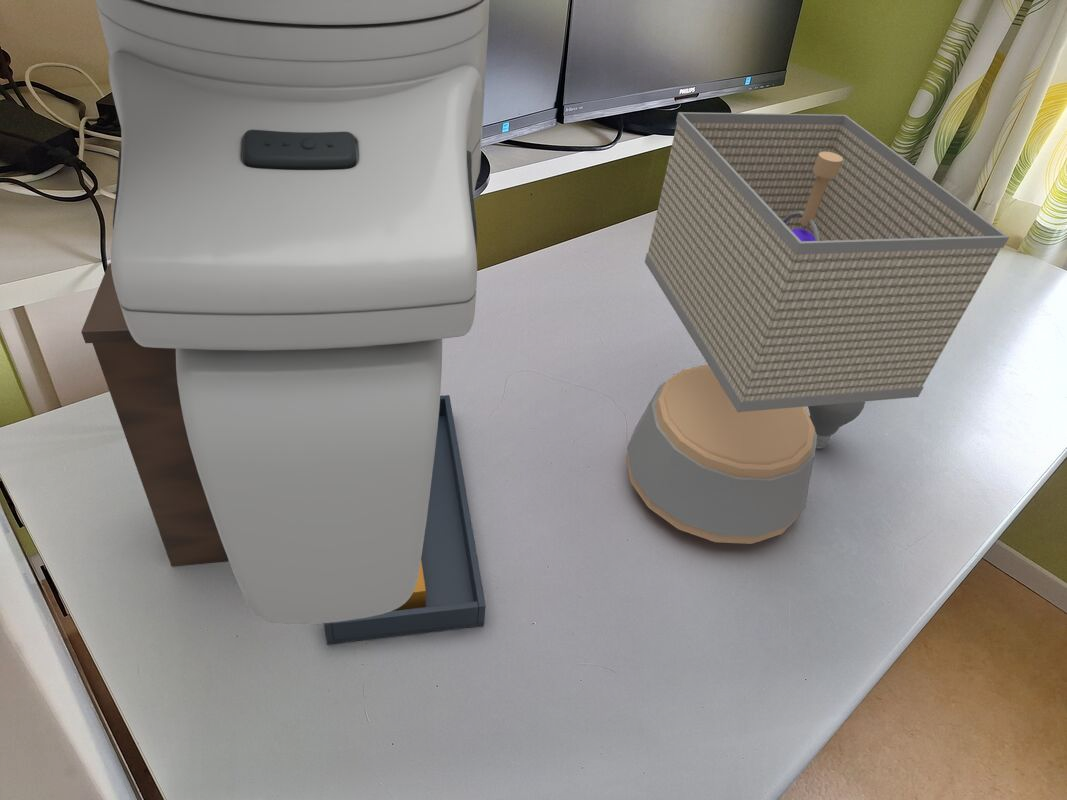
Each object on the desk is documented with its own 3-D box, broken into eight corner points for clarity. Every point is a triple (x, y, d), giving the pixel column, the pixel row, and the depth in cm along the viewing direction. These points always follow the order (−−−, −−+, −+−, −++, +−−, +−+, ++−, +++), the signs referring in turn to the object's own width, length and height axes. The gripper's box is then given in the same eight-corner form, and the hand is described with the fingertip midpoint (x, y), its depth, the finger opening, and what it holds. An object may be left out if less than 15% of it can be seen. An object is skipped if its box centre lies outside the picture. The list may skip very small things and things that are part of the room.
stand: (167, 569, 67) (80, 331, 50) (181, 496, 73) (108, 262, 56) (292, 557, 69) (250, 326, 52) (295, 487, 76) (258, 260, 59)
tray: (326, 644, 63) (323, 624, 61) (328, 422, 83) (325, 401, 81) (483, 626, 66) (485, 606, 64) (448, 414, 86) (449, 394, 84)
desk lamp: (839, 556, 76) (1034, 224, 52) (661, 581, 71) (783, 230, 47) (747, 411, 91) (863, 104, 67) (596, 423, 87) (663, 100, 63)
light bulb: (796, 460, 86) (827, 393, 79) (781, 424, 90) (810, 358, 84) (847, 463, 86) (882, 396, 80) (830, 427, 91) (862, 361, 84)
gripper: (223, -16, 26) (272, 312, 35) (82, 335, 12) (229, 747, 21) (407, -5, 28) (409, 309, 37) (493, 323, 13) (461, 715, 22)
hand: (344, 469), depth 29 cm, fingers open, 8 cm apart
